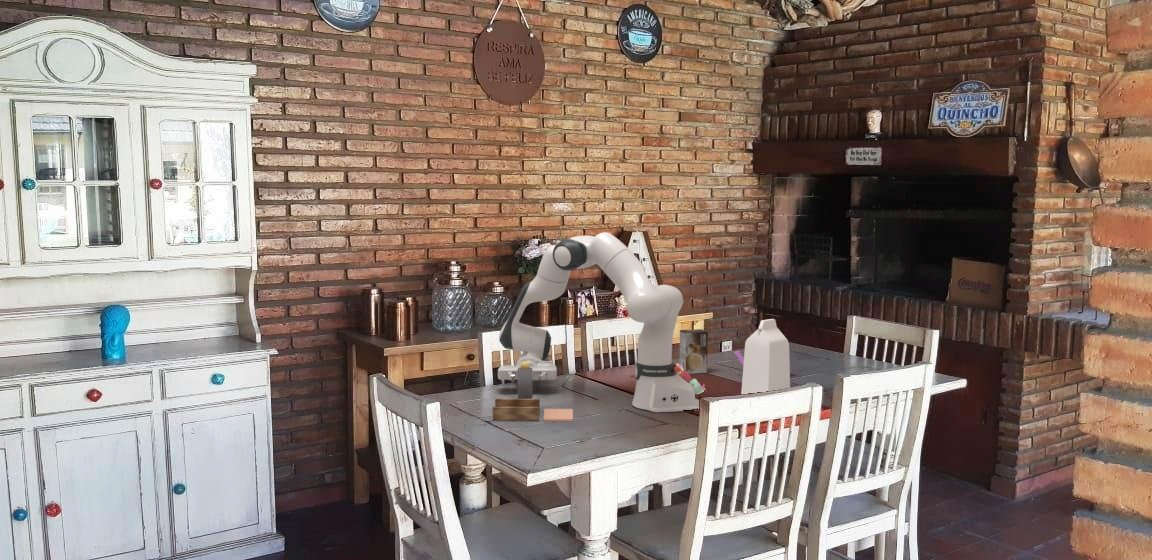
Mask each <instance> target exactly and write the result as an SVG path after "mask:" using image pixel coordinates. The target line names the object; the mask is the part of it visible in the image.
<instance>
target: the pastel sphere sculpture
mask: <svg viewBox="0 0 1152 560" xmlns="http://www.w3.org/2000/svg"><path fill="white" fill-rule="evenodd" d="M675 364H676V365H677V366H679V367H680V372H679V373H677V374H678V375H679V376H680V377H682V378H683V379H684V380H685V381H686V382H688V383H689V384H690V385H691V386H692V388H693V390H694V395H695V394H700V393H702V392H704V390H706V388H705V386H706V385H705V383H703V384H702V385H701V384H700V382H699V381H698V380H697V378H692V377H691V374H688V373H687V372H686V371H685V370H684V369H683V366H680V363H675ZM634 389H636V385H635V386H634Z"/></svg>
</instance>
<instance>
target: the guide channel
mask: <svg viewBox="0 0 1152 560" xmlns="http://www.w3.org/2000/svg"><path fill="white" fill-rule="evenodd" d="M540 401H541V400H540V398H532V399H518V398H495V399H494V406H492V421H503V422H504V421H508V420H509V421H517V422H518V421H523V422H524V421H525V422H526V421H530V422H531V421H534V422H535V421H537V422H538V421H540V420H539V419H540V412H541V411H540V407H541V406H540V405H541V403H540Z"/></svg>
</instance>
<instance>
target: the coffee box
mask: <svg viewBox="0 0 1152 560" xmlns="http://www.w3.org/2000/svg"><path fill="white" fill-rule="evenodd" d="M708 333H709V332H708V331H706V330H704V329H702V328H697V329H696V328H695V329H693V328H692V329H679V365H680V366H683V369H684V370H685V371H686V372H687V373H688V374H690V375H691V374H692V375H693V374H707V373H708V346H709V345H708V344H709V343H708V338H709V337H708V335H709V334H708Z"/></svg>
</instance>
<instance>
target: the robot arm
mask: <svg viewBox="0 0 1152 560" xmlns="http://www.w3.org/2000/svg"><path fill="white" fill-rule="evenodd" d="M597 265H598V267H600V269H601V270H602V271H603V272H604V274H605V275H606V276H607V277H608V278H609V279H610V280H611V282H612V283H613V284H614V285H615V286H616V287H617V288H618V290H619V292H621V294H622V296H623V298H624V300H625V302H626V311H627V314H628V315H629V317H630V318H631V319H632V320H633V321H635V322H637V323H643V325H642V329H641V331H640V333H639V335H638V337H637V361H636V362H635V364H636V365H635V379H636V381H635V386H636V388H634V389H635V390H634V394H633V398H632V402H631V405H632V406H633V407H635V408H637V409H640V410H647V411H650V412H652V413H670V412H671V413H672V412H673V413H674V412H684V411H683V410H692V409H697V408H698V410H697V411H700V410H699V401H700V400H699V399H698V398H697V397H695V395H694V390H693V388H692V386H691V385H690V384H689V383H688V382H686V381H685V380H684V379H683V378H682V377H680V376H679V375H678V374H677V373H679V372H680V367H679V366H677V365H676V364H677V363H675V362H673V361H672V360H673V339H674V338H673V337H674V333H675V328H676V325H677V320H678V316H679V313H680V310H681V309H682V307H683V303H684V298H683V297H684V296H683V293H682V292H681V291H680V290H679V288H677V287H675V286H673V285H669V284H660V285H659V284H658V285H654V284H653V283H652V282H651V280H650V279H649V277H648V275H647V273H646V267H645V265H644V264H643V263H642V262H641V261H640V259H638V258H637V256H636V255H635V253H633V252H632V251H631V250H630V249H629V248H628V247H627V245H625V244H624V242H622V241H621V240H620V239H618V238H617V237H616V236H615V235H613V234H611V233H610V232H608V231H603V232H601V233H598V234H587V235H586V234H585V235H578V236H577V235H576V236H572V237H570V238H565V239H562V240H560V241H559V242H558V243H556V244H553V245H550V246H549V247H547V248H546V250H545V252H544V253H543V256H542V258H541V260H540V263H539V266H538V270H537V273H536V275H535V277H534V278H533V279H532V280H531V281H529V282H526V283H525V284H524V285H523V286H522V288H521V290H520V293H519V294H518V296H517V298H516V300H515V302H514V303H513V304H514V305H513V307H512V309H511V311H510V313H509V316H508V317H507V320H506V321H505V323H504V324H503V325H502V327H501V329H500V331H499V337H498V339H499V343H500V344H501V345H502V347H503V348H504V349H506V350H507V349H508V350H511V351H513V350H516V351H519V352H521V354H520V355H519V357H518V359H517V362H516V365H508V364H507V365H502V366H501V365H500V367H498V369H497V379H498V380H501V381H504V380H508V381H516V380H517V381H518V368H520V367H521V362H529V367H531V368H532V383H533V382H536V381H545V380H546V381H552V380H553V381H555V380H557V378H558V374H557V373H558V369H557V365H555V363H554V361H553V360H552V359H551V360H550V359H548V357H549V354H550V350H551V345H552V336H551V334H550V332H549V331H548V330H547V329H545V328H540V327H537V326H532V325H528V324H524V323H521V322H520V319H521V317H522V315H523V313H524V311H525V310H526V307H528V305H530V304H532V303H536V302H549V301H553V300H555V299H557V298H559V297H561V296H562V295H563V294H564V293H565V291H566V288H567V285H568V282H569V278H570V274H571V272H572V271H574V270H580V269H587V268H589V267H592V266H597Z"/></svg>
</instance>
